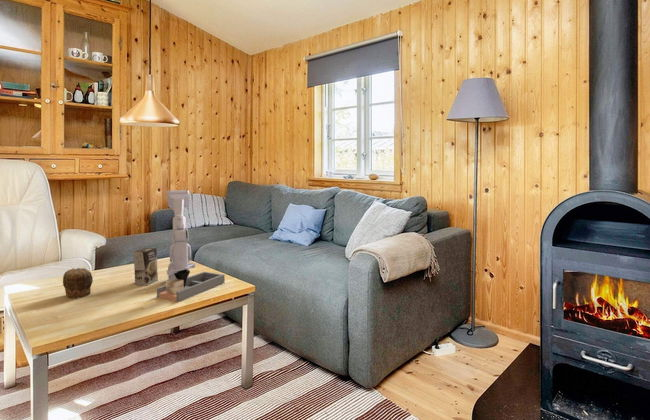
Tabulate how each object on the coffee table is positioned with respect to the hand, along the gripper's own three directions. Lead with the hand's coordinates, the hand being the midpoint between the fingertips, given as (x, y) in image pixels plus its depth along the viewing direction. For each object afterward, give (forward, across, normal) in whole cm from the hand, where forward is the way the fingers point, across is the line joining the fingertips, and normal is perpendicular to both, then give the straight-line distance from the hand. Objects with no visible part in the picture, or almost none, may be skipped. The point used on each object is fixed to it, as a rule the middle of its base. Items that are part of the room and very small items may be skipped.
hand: (182, 287), depth 177 cm
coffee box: (+3, +5, +27) cm, 28 cm away
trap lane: (+3, +6, 0) cm, 6 cm away
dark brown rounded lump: (+3, -21, +38) cm, 44 cm away
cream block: (+1, -4, 0) cm, 4 cm away
